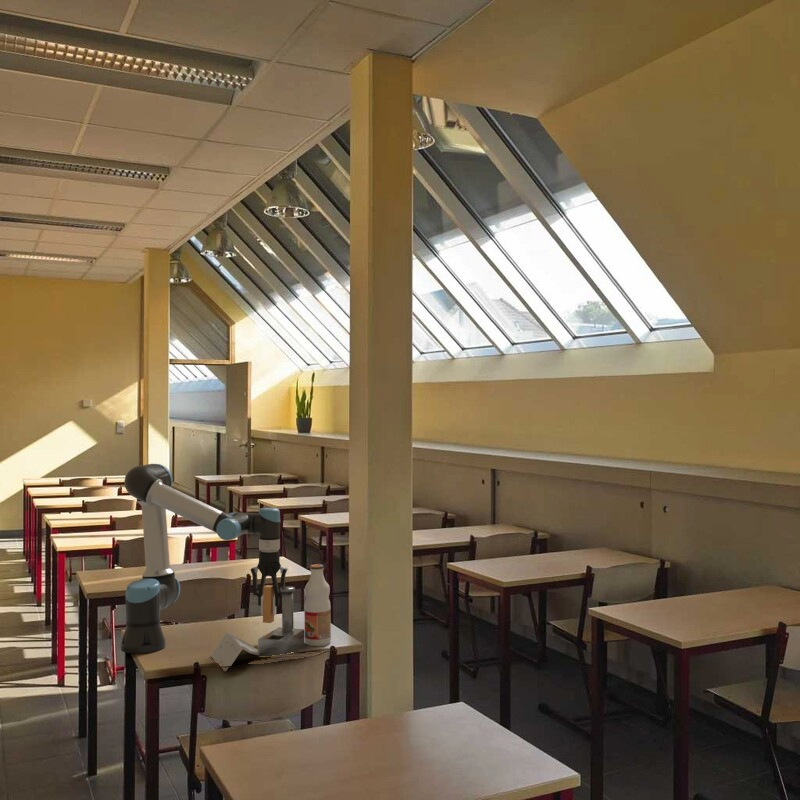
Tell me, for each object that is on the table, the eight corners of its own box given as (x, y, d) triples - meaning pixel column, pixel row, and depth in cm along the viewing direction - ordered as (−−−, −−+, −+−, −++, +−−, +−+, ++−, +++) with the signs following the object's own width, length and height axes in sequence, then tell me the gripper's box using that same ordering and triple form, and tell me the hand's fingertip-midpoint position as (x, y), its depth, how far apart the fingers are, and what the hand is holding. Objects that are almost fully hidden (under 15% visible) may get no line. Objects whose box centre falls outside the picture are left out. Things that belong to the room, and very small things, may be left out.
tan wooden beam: (262, 622, 300) (263, 586, 301) (266, 620, 303) (267, 585, 303) (270, 623, 300) (270, 587, 300) (273, 621, 302) (274, 585, 302)
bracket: (242, 645, 267) (227, 630, 285) (223, 672, 265) (210, 656, 283) (273, 664, 272) (256, 649, 290) (255, 692, 269) (240, 674, 287)
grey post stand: (258, 656, 282) (257, 595, 282) (279, 644, 297) (278, 585, 297) (285, 659, 279) (284, 596, 279) (304, 646, 294) (303, 587, 294)
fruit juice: (330, 646, 293) (329, 567, 294) (304, 647, 293) (303, 568, 293) (331, 639, 303) (330, 562, 303) (305, 639, 302) (304, 563, 302)
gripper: (244, 551, 298) (243, 616, 298) (290, 552, 298) (289, 617, 297) (249, 548, 306) (248, 611, 306) (293, 549, 305) (293, 612, 305)
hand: (268, 614), depth 301 cm, fingers closed on tan wooden beam, 4 cm apart
